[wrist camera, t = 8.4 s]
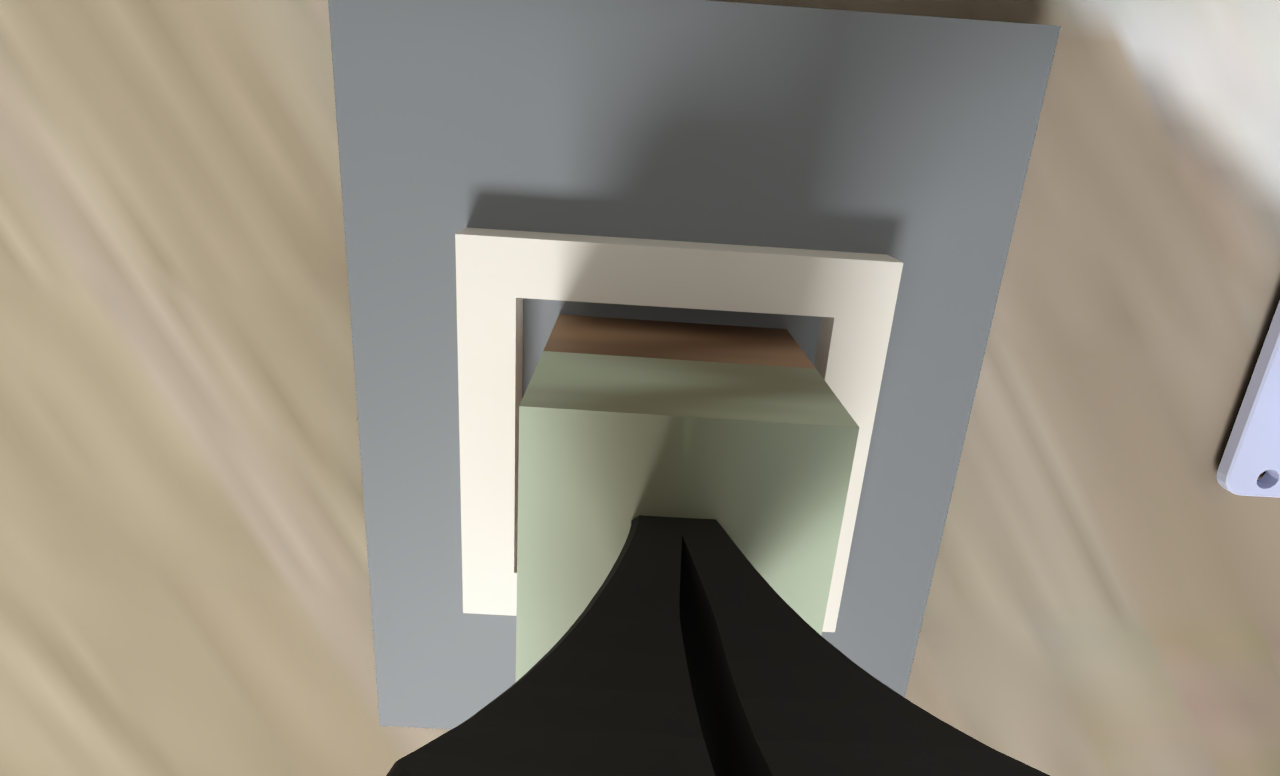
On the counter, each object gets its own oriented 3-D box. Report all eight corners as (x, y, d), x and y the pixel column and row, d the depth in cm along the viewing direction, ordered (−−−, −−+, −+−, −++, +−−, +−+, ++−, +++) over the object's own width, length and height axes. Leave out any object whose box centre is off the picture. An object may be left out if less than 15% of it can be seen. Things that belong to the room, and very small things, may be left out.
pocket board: (1029, 33, 15) (1091, 17, 13) (878, 717, 21) (904, 781, 19) (349, -16, 15) (303, -40, 13) (393, 693, 21) (366, 755, 19)
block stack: (786, 329, 16) (859, 428, 11) (758, 528, 18) (809, 698, 12) (559, 314, 16) (519, 405, 11) (552, 516, 18) (515, 682, 12)
